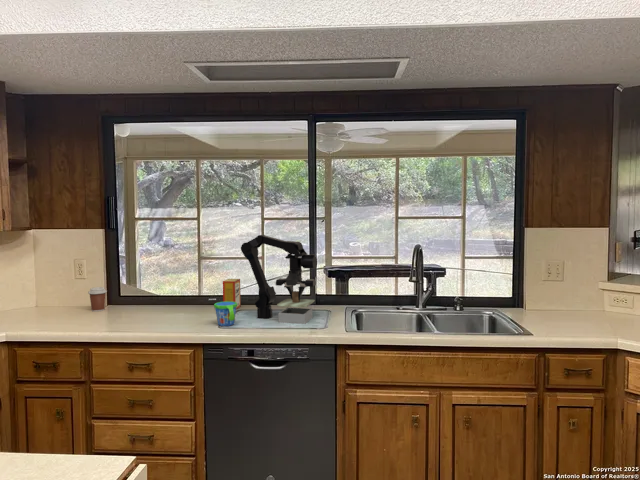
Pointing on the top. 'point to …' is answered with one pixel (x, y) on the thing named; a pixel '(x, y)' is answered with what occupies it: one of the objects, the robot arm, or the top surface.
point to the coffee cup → (97, 298)
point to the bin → (295, 315)
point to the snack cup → (225, 312)
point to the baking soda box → (232, 291)
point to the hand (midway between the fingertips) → (295, 300)
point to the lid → (296, 301)
